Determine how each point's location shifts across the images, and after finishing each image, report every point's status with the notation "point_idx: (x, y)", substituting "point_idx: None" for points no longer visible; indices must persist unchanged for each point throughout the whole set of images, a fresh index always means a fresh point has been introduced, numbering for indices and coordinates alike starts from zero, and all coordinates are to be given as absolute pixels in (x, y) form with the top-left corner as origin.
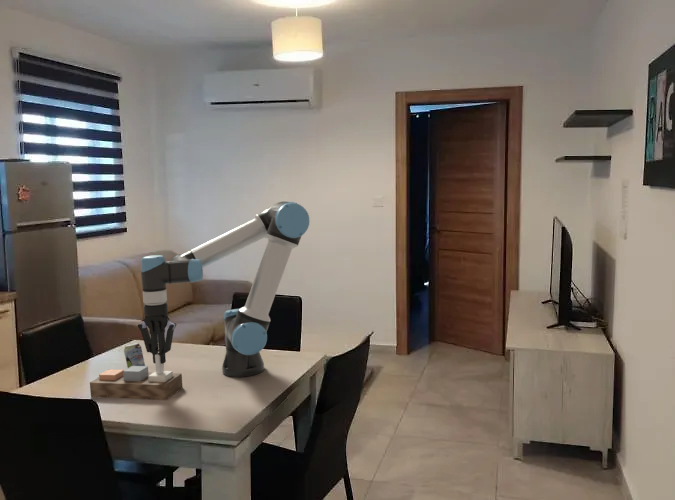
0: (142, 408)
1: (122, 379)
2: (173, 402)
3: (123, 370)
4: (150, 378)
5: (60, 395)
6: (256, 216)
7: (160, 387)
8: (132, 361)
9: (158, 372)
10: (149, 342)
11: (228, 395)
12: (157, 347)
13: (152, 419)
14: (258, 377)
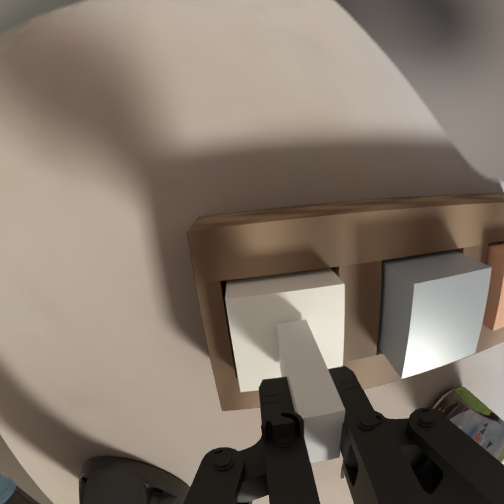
0: (247, 95)
1: None
2: (147, 199)
3: (492, 326)
4: (325, 279)
5: None
6: None
7: (220, 224)
8: (478, 418)
9: (290, 326)
10: (447, 493)
11: (17, 317)
12: (353, 487)
13: (131, 18)
14: (63, 450)
